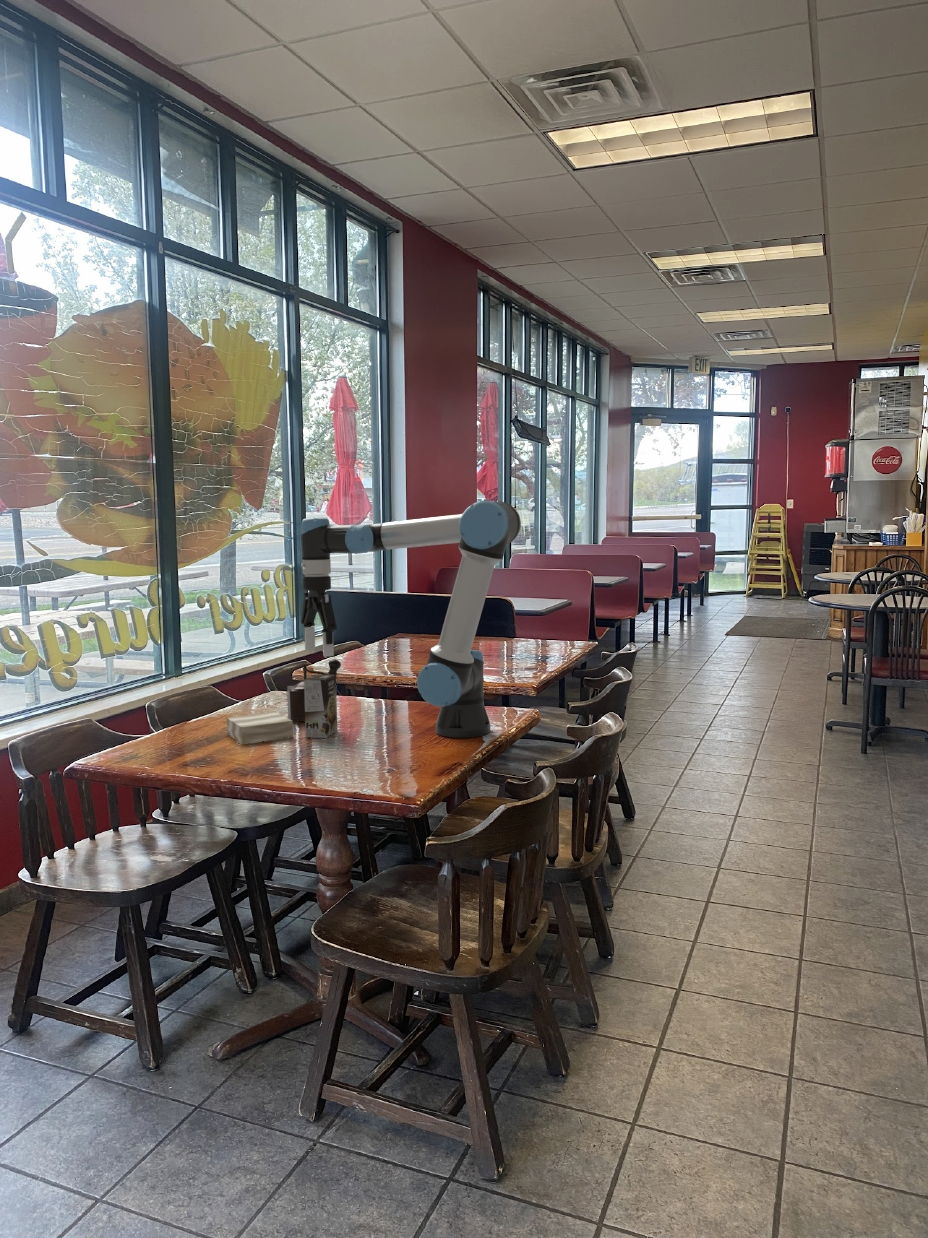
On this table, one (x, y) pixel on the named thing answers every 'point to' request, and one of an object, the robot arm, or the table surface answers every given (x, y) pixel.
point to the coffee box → (320, 706)
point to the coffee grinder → (297, 692)
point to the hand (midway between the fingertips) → (319, 653)
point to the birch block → (259, 727)
